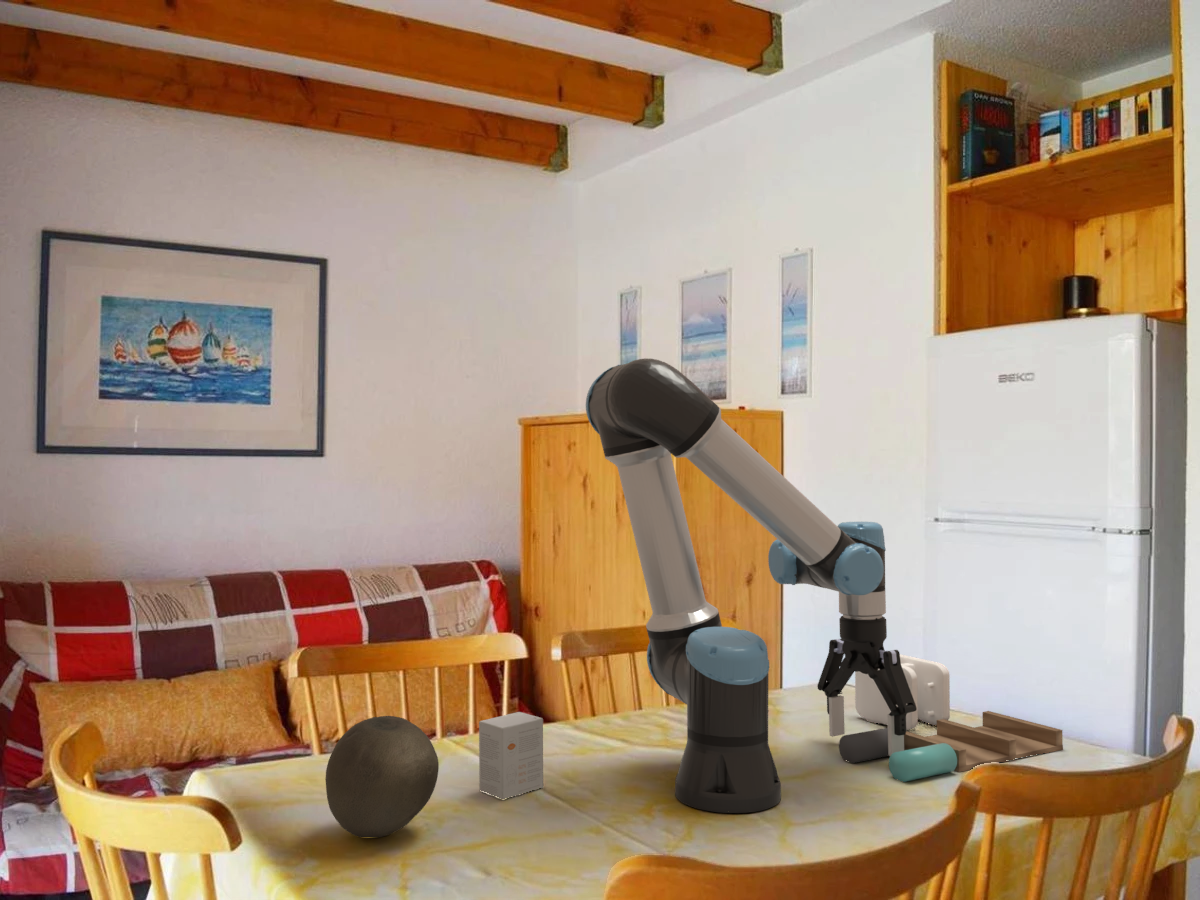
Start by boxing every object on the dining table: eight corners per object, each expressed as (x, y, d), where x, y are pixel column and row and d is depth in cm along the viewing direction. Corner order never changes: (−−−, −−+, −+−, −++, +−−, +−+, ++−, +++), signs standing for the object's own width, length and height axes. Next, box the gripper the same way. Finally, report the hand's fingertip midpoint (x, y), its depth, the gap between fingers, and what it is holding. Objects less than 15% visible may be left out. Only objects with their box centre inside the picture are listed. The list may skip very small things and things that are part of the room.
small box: (520, 780, 155) (520, 710, 155) (544, 788, 151) (544, 717, 151) (477, 792, 149) (477, 720, 149) (502, 801, 145) (502, 727, 145)
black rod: (846, 767, 164) (862, 756, 161) (835, 742, 166) (850, 730, 164) (892, 758, 169) (907, 747, 166) (880, 734, 171) (895, 722, 168)
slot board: (958, 772, 158) (958, 750, 158) (887, 748, 171) (887, 728, 171) (1062, 749, 170) (1062, 729, 171) (989, 729, 184) (989, 710, 184)
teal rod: (911, 785, 152) (909, 755, 152) (889, 778, 156) (888, 749, 156) (957, 774, 157) (956, 746, 157) (935, 768, 161) (934, 740, 161)
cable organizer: (851, 717, 193) (850, 655, 193) (891, 710, 198) (891, 650, 198) (911, 735, 180) (910, 669, 180) (953, 728, 185) (952, 663, 185)
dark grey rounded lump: (335, 863, 123) (335, 738, 123) (318, 824, 136) (318, 711, 136) (449, 845, 128) (449, 725, 129) (422, 810, 141) (422, 701, 142)
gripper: (937, 623, 159) (940, 759, 159) (828, 604, 181) (830, 724, 181) (902, 628, 155) (906, 767, 155) (795, 608, 177) (798, 730, 177)
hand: (865, 744), depth 168 cm, fingers open, 13 cm apart
